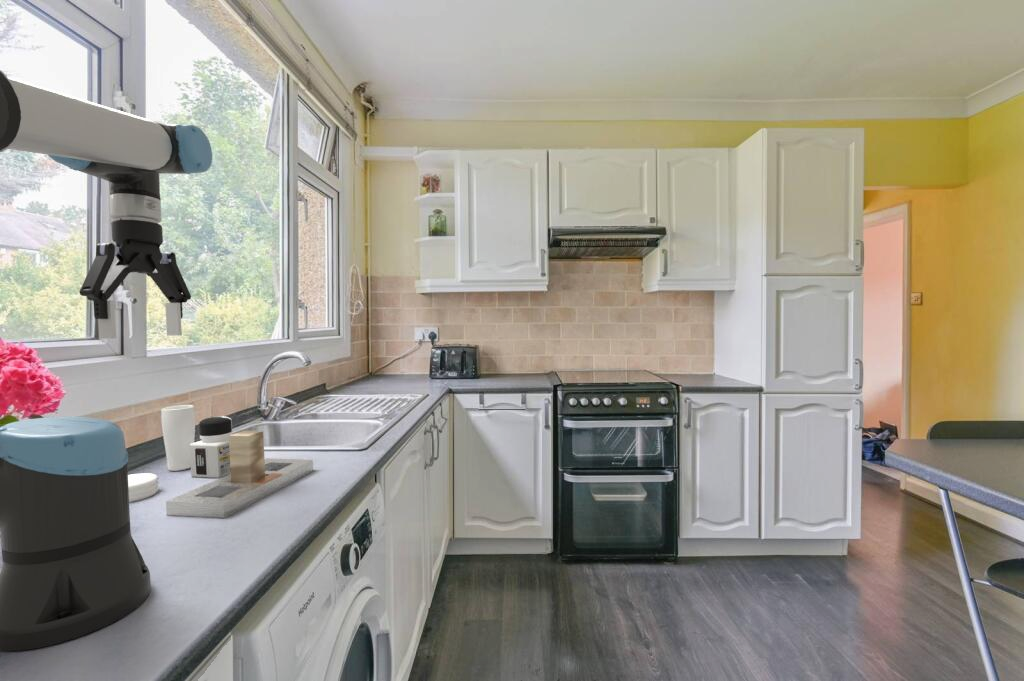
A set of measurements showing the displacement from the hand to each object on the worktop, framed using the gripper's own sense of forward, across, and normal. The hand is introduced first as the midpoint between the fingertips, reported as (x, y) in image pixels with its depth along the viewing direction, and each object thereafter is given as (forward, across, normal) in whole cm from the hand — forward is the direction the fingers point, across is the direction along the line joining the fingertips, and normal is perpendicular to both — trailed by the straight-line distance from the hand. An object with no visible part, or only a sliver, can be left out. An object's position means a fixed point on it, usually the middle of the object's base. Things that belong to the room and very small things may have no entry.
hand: (143, 337), depth 92 cm
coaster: (+33, +6, +12) cm, 36 cm away
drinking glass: (+33, +24, +17) cm, 44 cm away
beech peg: (+33, +12, -11) cm, 37 cm away
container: (+33, +22, +5) cm, 40 cm away
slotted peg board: (+33, +12, -11) cm, 37 cm away
